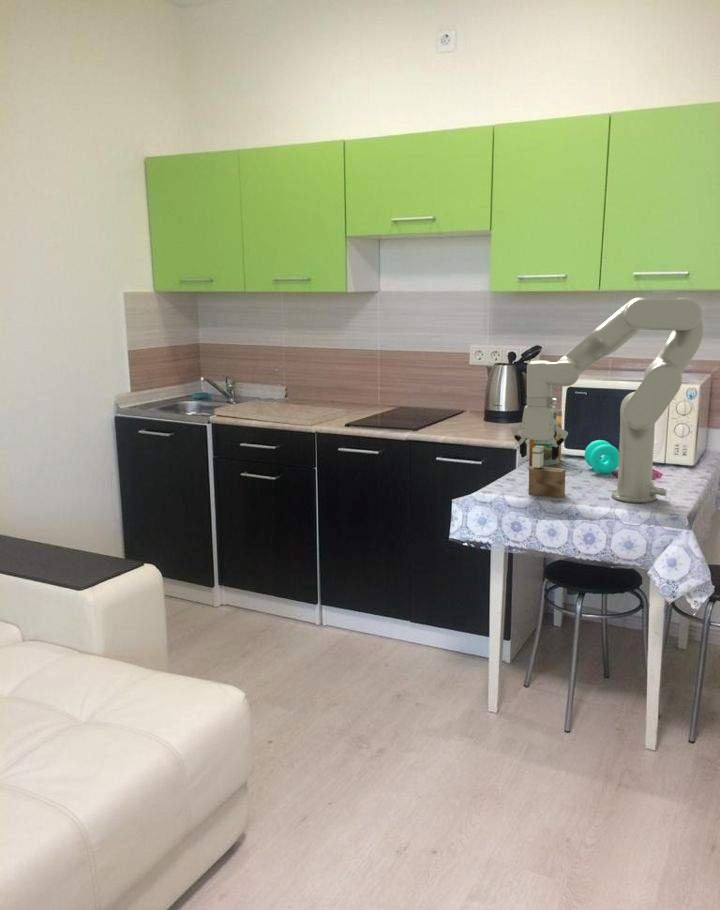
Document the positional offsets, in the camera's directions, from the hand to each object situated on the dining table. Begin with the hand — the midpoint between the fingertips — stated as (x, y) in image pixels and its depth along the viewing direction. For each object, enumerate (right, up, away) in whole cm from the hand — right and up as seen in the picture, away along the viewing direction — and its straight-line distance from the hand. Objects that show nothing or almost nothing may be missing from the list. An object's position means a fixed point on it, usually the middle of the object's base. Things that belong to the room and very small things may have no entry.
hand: (539, 457), depth 242 cm
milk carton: (+12, -2, +41) cm, 43 cm away
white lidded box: (0, -3, +1) cm, 3 cm away
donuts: (+27, -5, +27) cm, 39 cm away
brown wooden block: (+3, -11, +1) cm, 11 cm away
